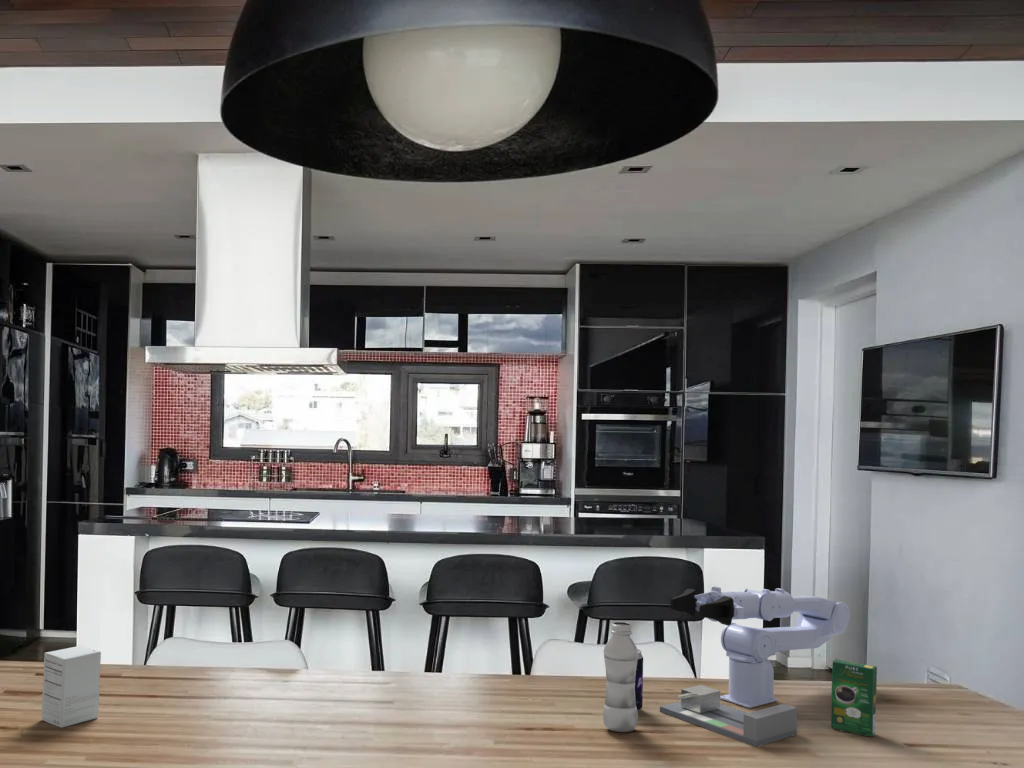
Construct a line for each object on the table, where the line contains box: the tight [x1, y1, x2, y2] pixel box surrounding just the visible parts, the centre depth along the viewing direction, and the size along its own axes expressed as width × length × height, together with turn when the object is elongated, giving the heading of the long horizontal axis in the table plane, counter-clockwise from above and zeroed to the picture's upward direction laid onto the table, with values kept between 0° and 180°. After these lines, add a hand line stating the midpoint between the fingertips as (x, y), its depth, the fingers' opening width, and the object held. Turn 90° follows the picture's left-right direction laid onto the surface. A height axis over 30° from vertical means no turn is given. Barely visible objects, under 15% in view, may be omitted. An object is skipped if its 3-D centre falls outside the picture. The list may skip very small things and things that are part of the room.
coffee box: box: [830, 658, 878, 738], centre depth 170 cm, size 8×3×13 cm, turn 54°
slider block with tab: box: [676, 684, 721, 713], centre depth 177 cm, size 10×5×4 cm, turn 127°
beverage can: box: [635, 648, 644, 713], centre depth 180 cm, size 6×6×12 cm
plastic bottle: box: [602, 621, 639, 733], centre depth 168 cm, size 6×7×20 cm
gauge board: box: [659, 701, 798, 748], centre depth 173 cm, size 12×24×5 cm, turn 37°
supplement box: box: [41, 645, 102, 729], centre depth 166 cm, size 7×7×13 cm
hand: (686, 607), depth 178 cm, fingers open, 7 cm apart
